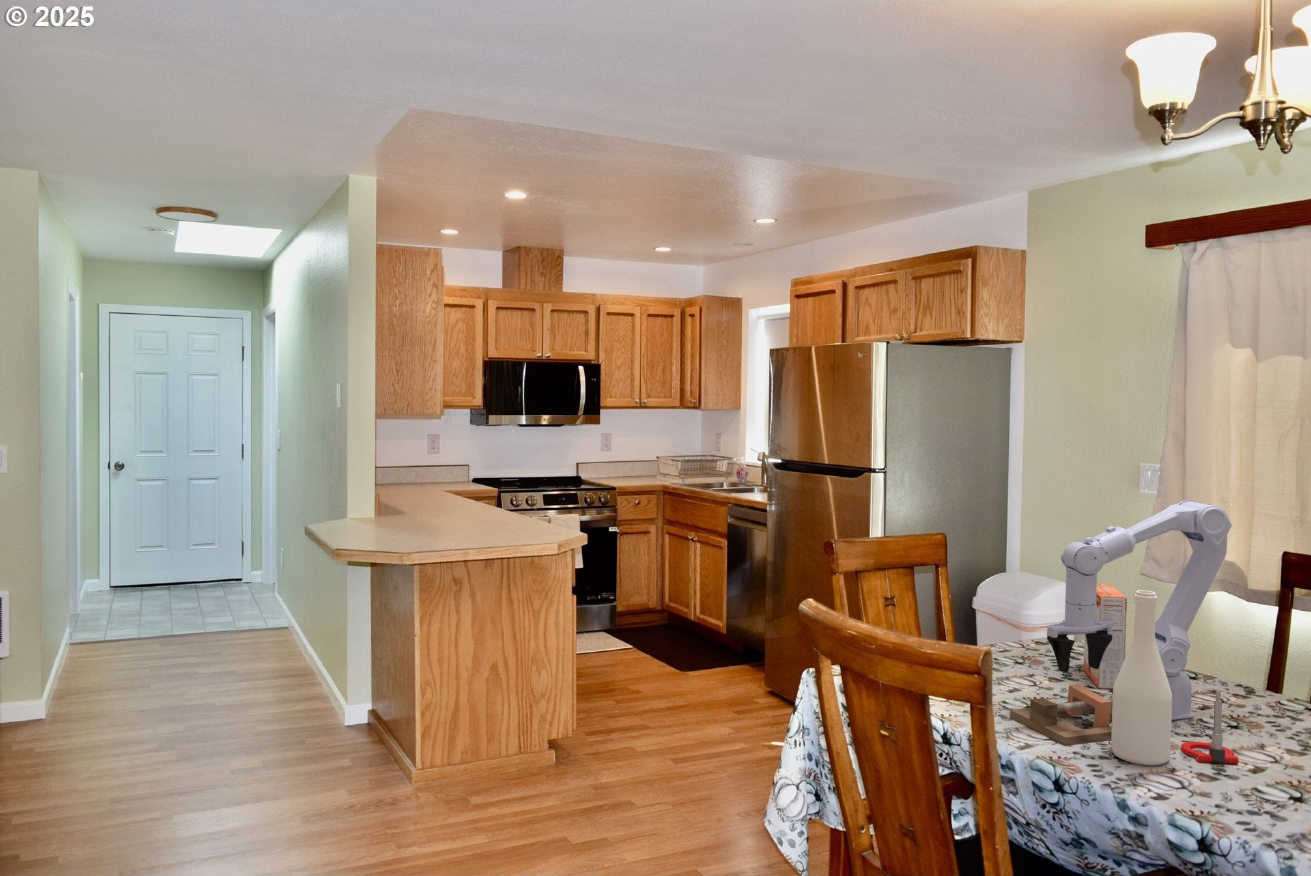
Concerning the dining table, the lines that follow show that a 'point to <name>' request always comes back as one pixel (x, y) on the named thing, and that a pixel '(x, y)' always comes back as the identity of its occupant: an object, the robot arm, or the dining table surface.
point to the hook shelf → (1060, 721)
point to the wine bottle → (1142, 694)
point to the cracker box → (1112, 610)
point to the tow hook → (1215, 749)
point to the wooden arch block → (1093, 699)
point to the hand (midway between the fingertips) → (1078, 669)
